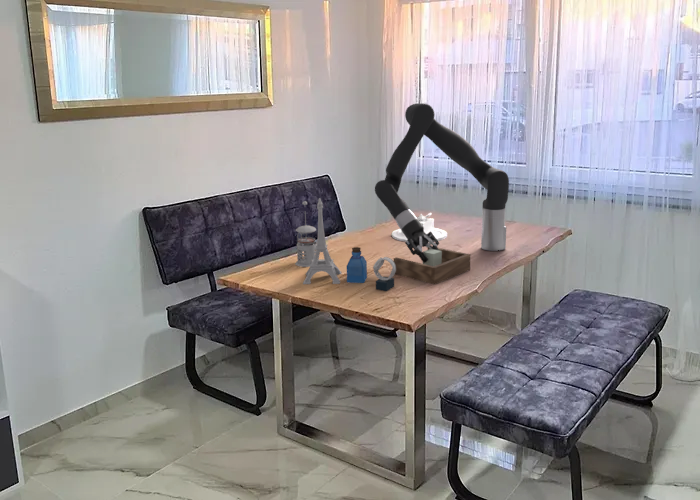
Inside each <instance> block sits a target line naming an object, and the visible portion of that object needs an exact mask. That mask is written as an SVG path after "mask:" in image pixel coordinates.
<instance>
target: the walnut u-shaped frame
mask: <svg viewBox="0 0 700 500" xmlns="http://www.w3.org/2000/svg"><path fill="white" fill-rule="evenodd" d="M429 249H430V248H429V247H428V248H427V250H429ZM438 249H439V250H440V251H442V263H441V264H439V265H436V266H430V265H426V264H423V262H422V263H421V262H418V261H412V260H408V259H405V258H400V257H393V261H394V263H395V266H396V272H395V274H394V275H397V276H402V277H404V278H409V279H413V280H417V281H419V282H423V283H428V284H432V285H436V284H439V283H441V282H444V281H446V280H448V279H449V280H450V279H451V278H454V277H455V276H459V275H460V274H462V273H463V274H464V273H466V272H468V271H470V270H471V254H470V253H465V252H460V251H456V250H451V249H446V248H443V247H442V248H441V247H438ZM467 270H468V271H467ZM465 271H466V272H465ZM458 274H459V275H458Z"/></svg>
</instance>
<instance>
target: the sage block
mask: <svg viewBox="0 0 700 500" xmlns="http://www.w3.org/2000/svg"><path fill="white" fill-rule="evenodd" d="M422 252H424V254H425V255H426V256H427V258H428V261H427V262H425V263H424V262H423V261H422V264H426V265H430V266H436V265H439V264H441V263H442V251H439V250H434V249H429V250H428V249H426V250H422Z"/></svg>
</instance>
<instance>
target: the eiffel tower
mask: <svg viewBox="0 0 700 500" xmlns="http://www.w3.org/2000/svg"><path fill="white" fill-rule="evenodd" d="M316 205H317V207H316V209H317V213H318V214H317V216H318V217H317V241H316V244H317V245H316V254H315V258H314V260H312V262H311V266H310V267H308V270H307V272H305V279H304V280H303V282H302V285H311V283H312V281H311V280H312V278H313V276H314V275H315V274H317V273H319V272H324V273H326V274H328V275H329V276H330V277H331V280H332V285H340V284H341V280H340V279H339V277H338V275H339V274H341V275H342V271H341V270H340V268H339V267H338V266H337V264H335V262H334V259H333V258H332V257H331V255H330V252H329V249H328V244H327V242H326V238H325V237H326V235H325V228H324V219H323V208H324V206H323V201H322V200H321V198H318V202H317V204H316ZM320 253H323V259H319V258H320V256H321V255H320Z"/></svg>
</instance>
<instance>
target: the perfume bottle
mask: <svg viewBox="0 0 700 500" xmlns="http://www.w3.org/2000/svg"><path fill="white" fill-rule="evenodd" d="M351 249H352V251H351V257H350V258H349V260H348V263H347V265H346V282H347V283H351V284H353V283H356V284H364V283H366V280H367V278H368V265H367V263H368V262H367V260H366V258H365V256H364V255H362V250H361V249H362V248H361V247H359V246H354V247H352V248H351Z"/></svg>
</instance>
